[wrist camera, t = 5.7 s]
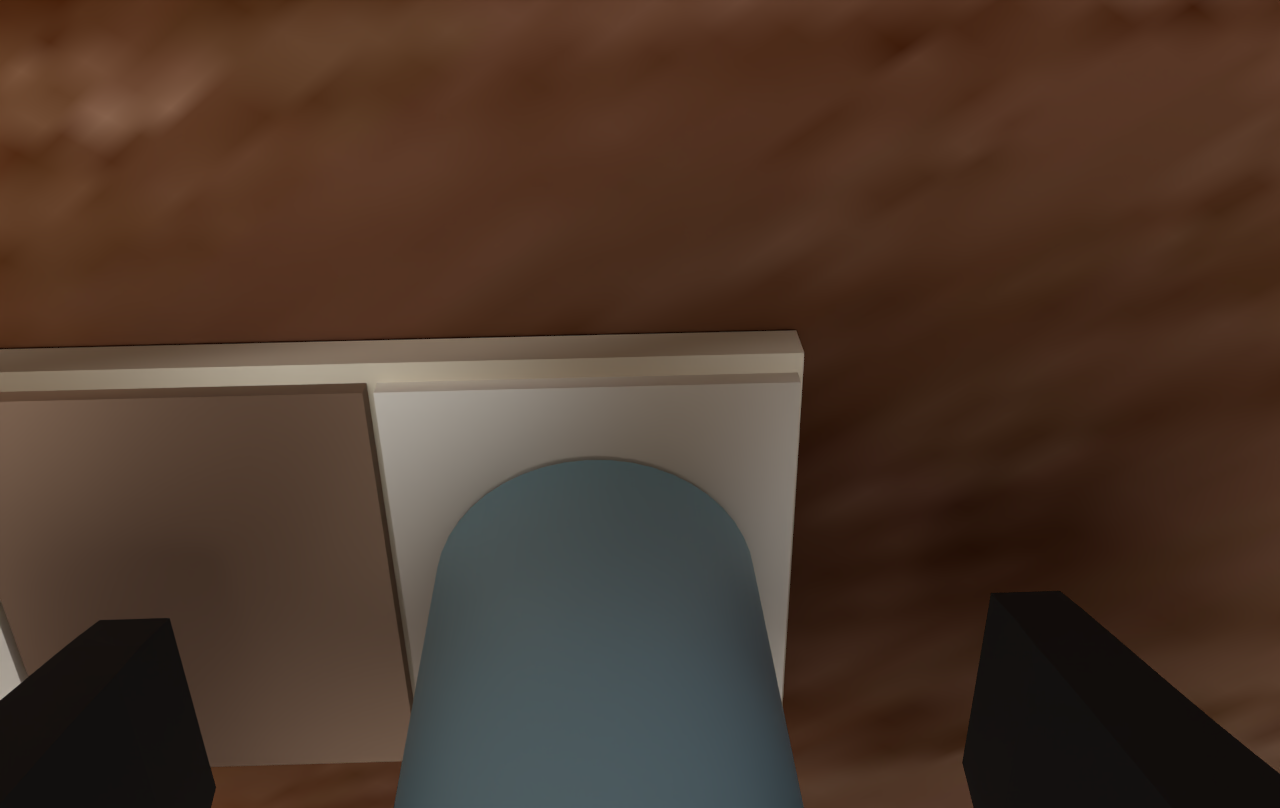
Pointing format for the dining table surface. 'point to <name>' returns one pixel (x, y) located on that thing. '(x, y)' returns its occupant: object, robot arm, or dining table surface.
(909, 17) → the dining table surface
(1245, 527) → the dining table surface
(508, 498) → the blue capsule cylinder
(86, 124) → the dining table surface
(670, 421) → the board
